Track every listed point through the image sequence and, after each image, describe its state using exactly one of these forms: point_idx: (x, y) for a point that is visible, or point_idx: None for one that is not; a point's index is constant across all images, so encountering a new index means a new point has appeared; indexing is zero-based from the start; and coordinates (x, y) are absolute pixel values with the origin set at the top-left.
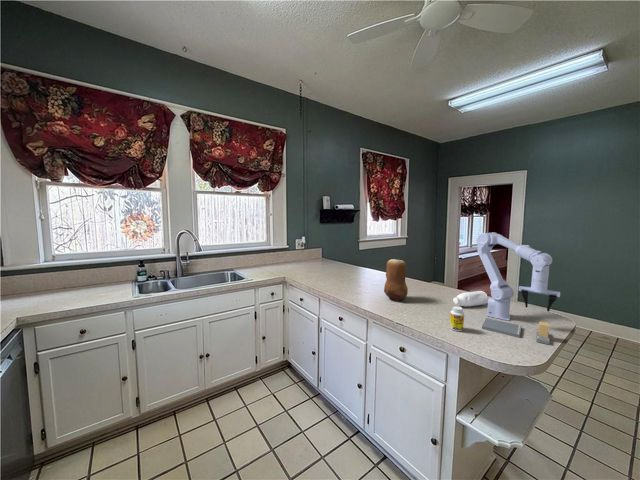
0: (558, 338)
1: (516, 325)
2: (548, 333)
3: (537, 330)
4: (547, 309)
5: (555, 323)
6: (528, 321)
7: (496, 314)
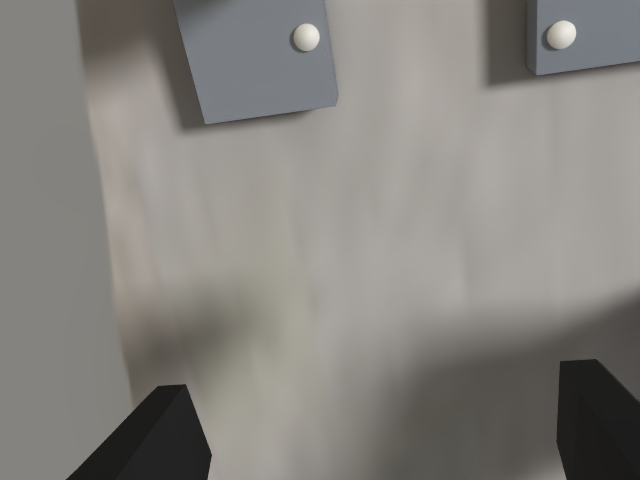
0: (105, 59)
1: (608, 22)
2: (185, 28)
3: (319, 29)
4: (163, 408)
5: (250, 469)
6: (464, 370)
7: None
